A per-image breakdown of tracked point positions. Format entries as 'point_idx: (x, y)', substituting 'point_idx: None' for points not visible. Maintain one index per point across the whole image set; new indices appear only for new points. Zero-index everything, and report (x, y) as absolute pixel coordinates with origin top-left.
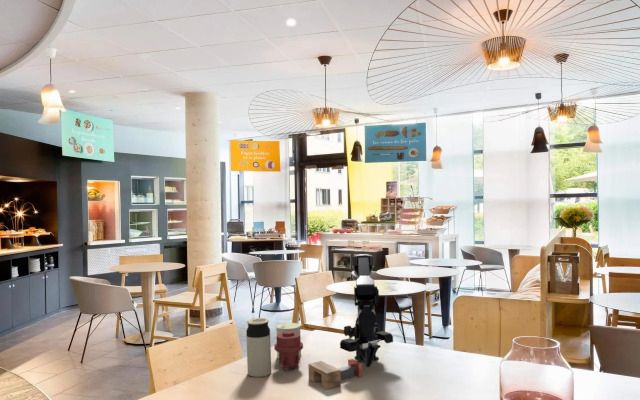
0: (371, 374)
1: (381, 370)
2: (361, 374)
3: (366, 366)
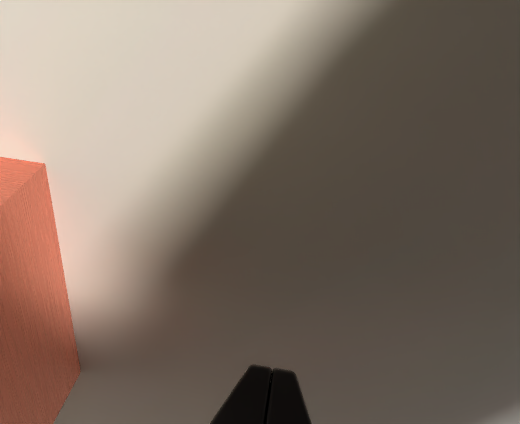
0: None
1: (439, 415)
2: (57, 397)
3: (251, 370)
